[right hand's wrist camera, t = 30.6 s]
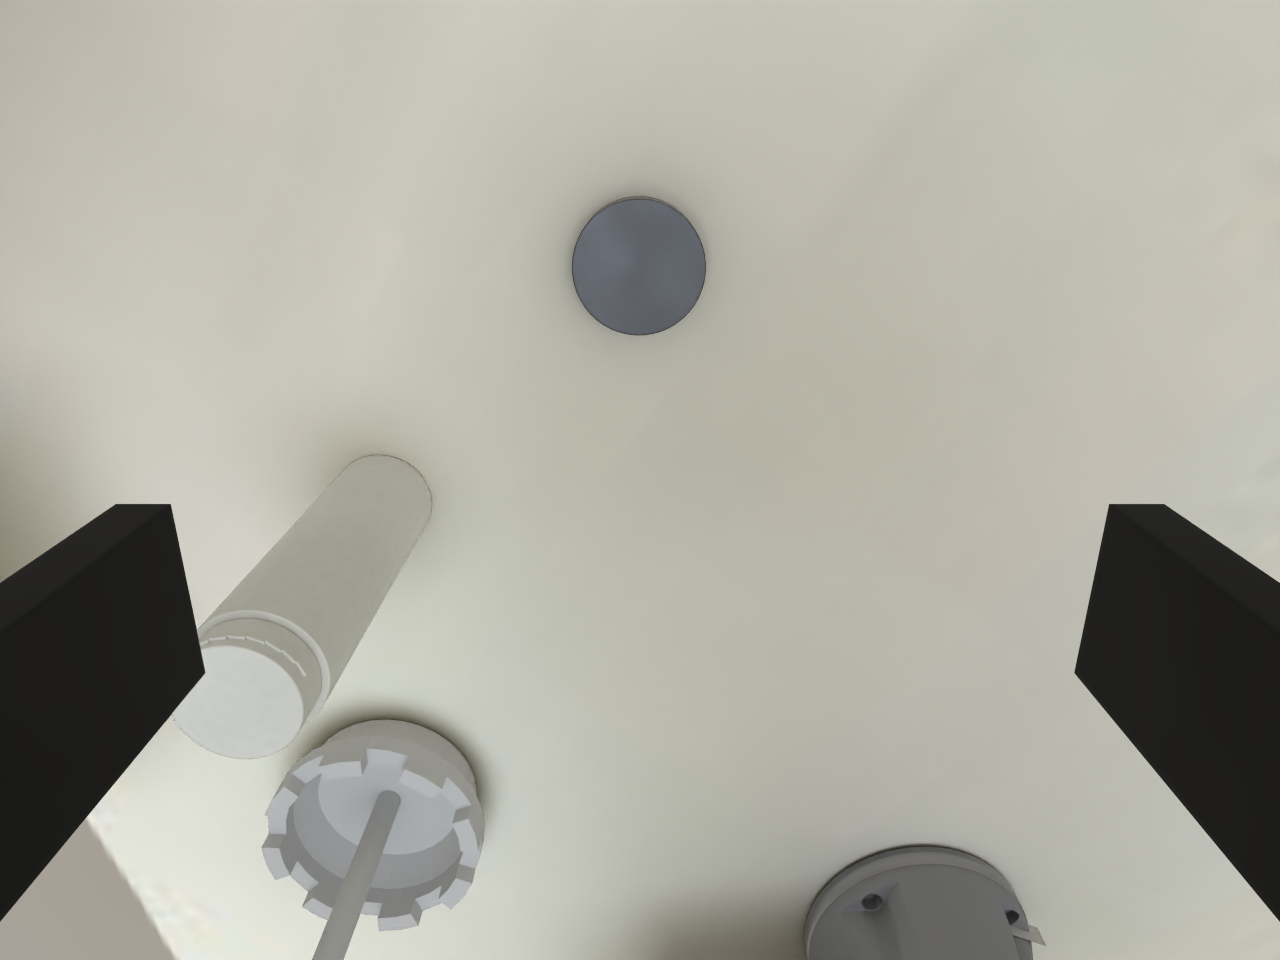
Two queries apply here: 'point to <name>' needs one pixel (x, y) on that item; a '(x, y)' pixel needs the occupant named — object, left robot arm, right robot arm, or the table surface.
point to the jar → (303, 611)
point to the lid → (638, 266)
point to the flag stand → (376, 828)
